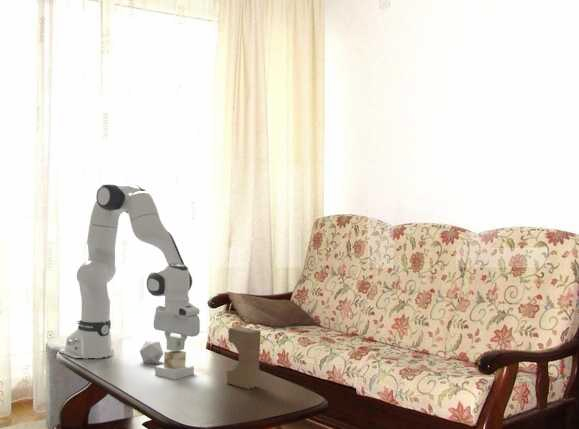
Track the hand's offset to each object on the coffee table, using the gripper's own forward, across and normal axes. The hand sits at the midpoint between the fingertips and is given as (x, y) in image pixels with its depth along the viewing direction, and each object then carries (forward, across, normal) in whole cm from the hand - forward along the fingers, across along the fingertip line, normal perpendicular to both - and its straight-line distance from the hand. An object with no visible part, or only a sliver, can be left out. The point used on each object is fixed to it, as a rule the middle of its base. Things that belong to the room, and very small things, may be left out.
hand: (175, 344), depth 269 cm
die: (+11, -19, +7) cm, 23 cm away
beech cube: (+8, 0, 0) cm, 8 cm away
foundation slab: (+11, 0, 0) cm, 11 cm away
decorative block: (+11, +28, +6) cm, 30 cm away
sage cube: (+2, 0, 0) cm, 2 cm away
